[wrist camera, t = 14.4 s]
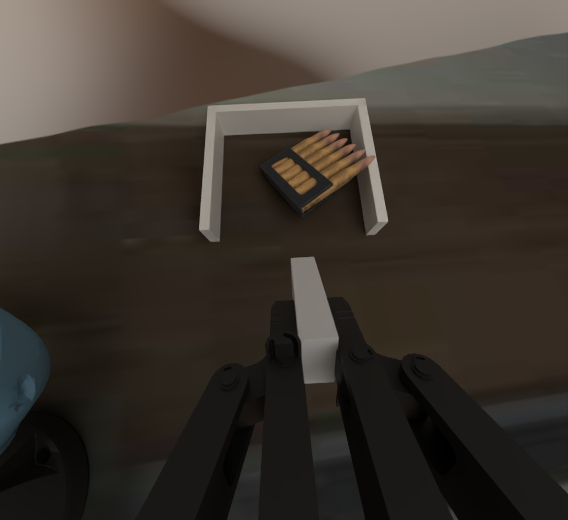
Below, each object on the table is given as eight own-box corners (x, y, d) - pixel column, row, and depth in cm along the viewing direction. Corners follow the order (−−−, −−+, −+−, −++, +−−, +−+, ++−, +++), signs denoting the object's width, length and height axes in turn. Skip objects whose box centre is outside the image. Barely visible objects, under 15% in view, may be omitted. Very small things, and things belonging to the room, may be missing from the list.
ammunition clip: (258, 165, 30) (327, 120, 31) (262, 175, 32) (328, 132, 33) (299, 208, 25) (381, 153, 26) (302, 217, 27) (379, 165, 27)
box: (210, 241, 29) (199, 230, 25) (216, 129, 34) (207, 105, 31) (374, 234, 29) (388, 221, 25) (356, 123, 34) (364, 98, 30)
